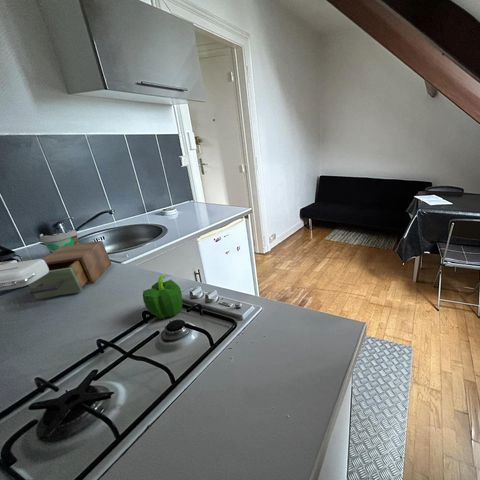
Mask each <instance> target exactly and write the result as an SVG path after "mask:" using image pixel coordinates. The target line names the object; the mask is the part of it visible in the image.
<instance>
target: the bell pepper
mask: <svg viewBox="0 0 480 480" xmlns="http://www.w3.org/2000/svg"><path fill="white" fill-rule="evenodd" d="M165 278H166V276H165V275H164V274H162V275H160V276H158V279H157V282H155V283H154V284H152V286H151V287H150V288H148V289H145V290H143V292H142V300H143V303H144V306H145V308H146V310H147V311H148V312H149V313H150V314H151V315H152V314H153V315H155V316H156V317H155V318H156V319H159V320H163V319H165V318H171V317H176V316H177V315H178V314H179V313H180V312H181V310H182V308H183V294H182V291H181V287H180V285H178V283H176V282H175V281H174V280H172V279H169V280H165V281H163V280H164V279H165ZM153 315H152V316H153Z"/></svg>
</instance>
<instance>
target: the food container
mask: <svg viewBox="0 0 480 480" xmlns="http://www.w3.org/2000/svg"><path fill="white" fill-rule="evenodd" d="M78 235H79V233H78V232H77V230H76V229H73V230H71V231H68V232H57V233H53V234H47V235H45V234H43V233H41V234H39V242H40V243H43V244H44V246H45V247H46V248H47V250H48V251H49V254H51V253H52V252H54V251H55V250H57V249H59V248H60V247H62V246H69V245H76V244H80V241H79V238H78V237H79V236H78Z"/></svg>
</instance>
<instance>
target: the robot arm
mask: <svg viewBox="0 0 480 480" xmlns="http://www.w3.org/2000/svg"><path fill="white" fill-rule="evenodd" d="M42 259H43V258H37V259H31V260H30V259H29V260H23V261H18V260H15V259H13V260H8V261H1V262H0V292H2V291H6V290H7V291H8V290H12V289H17V288H23V287H26V286H29V285H28V284H31V283H33V282H35V281H36V280H38V279H40V278H41V277H43V276H44V275H46V274H47V273H48V272H49V268H48V266H47V264H46V262H45V261H44V260H42Z"/></svg>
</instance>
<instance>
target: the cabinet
mask: <svg viewBox="0 0 480 480" xmlns="http://www.w3.org/2000/svg"><path fill="white" fill-rule="evenodd" d="M41 259H42V260H44V261H45V262H46V264H47V265H49V264H56V263H62V262H68V261H75V260H80V261H81V263H82V265H83V267H84V269H85V272H86V274H87V276H88V278H89V280H88V281H87V282H86V283H85V284H84V285H83V286H86V285H92V284H95V283H96V282H97V281H98V279H99V278H101V276H102V275H103V274H104V273H105V272H106V271H107V270H108V269H109V268H110V267H111V265H112V261H111V259H110V256H109V254H108V252H107V250H106V247H105V244H104V242H103V240H98V241H97V240H96V241H91V242H83V243H79V244H76V245H69V246H62V247H60V248H59V249H57V250H55V251H54V252H52V253H49V254H48V255H46V256H44V257H43V258H41Z"/></svg>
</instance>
